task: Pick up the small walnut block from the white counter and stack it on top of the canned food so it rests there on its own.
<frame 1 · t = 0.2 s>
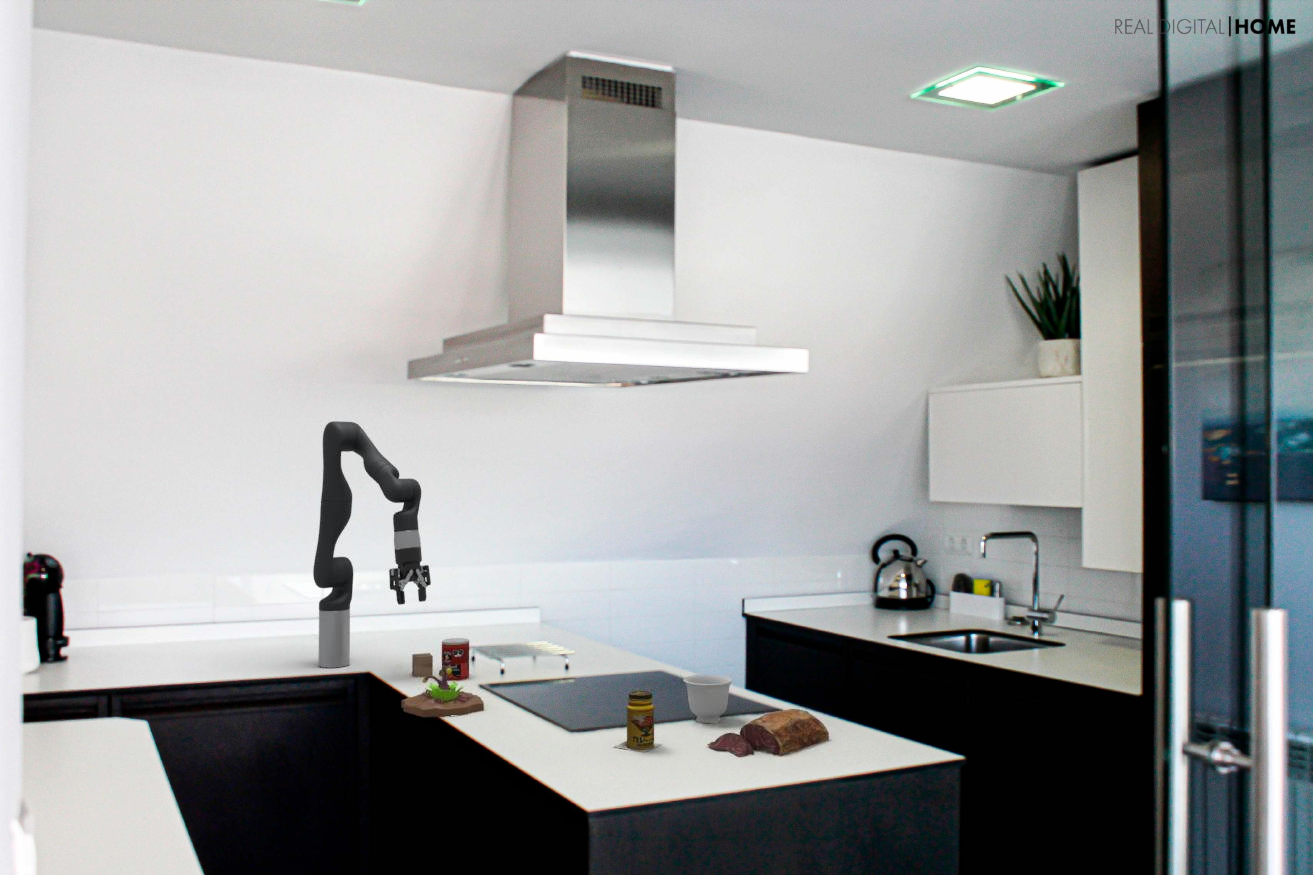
hand: (412, 602, 318), 22 cm above the worktop, tool pointing down, fingers open, 8 cm apart
teacup: (705, 719, 269), on the worktop
walnut block: (422, 675, 324), on the worktop
condiment: (637, 747, 244), on the worktop
plant: (444, 710, 281), on the worktop
cured meat: (765, 747, 245), on the worktop
canned food: (455, 678, 319), on the worktop
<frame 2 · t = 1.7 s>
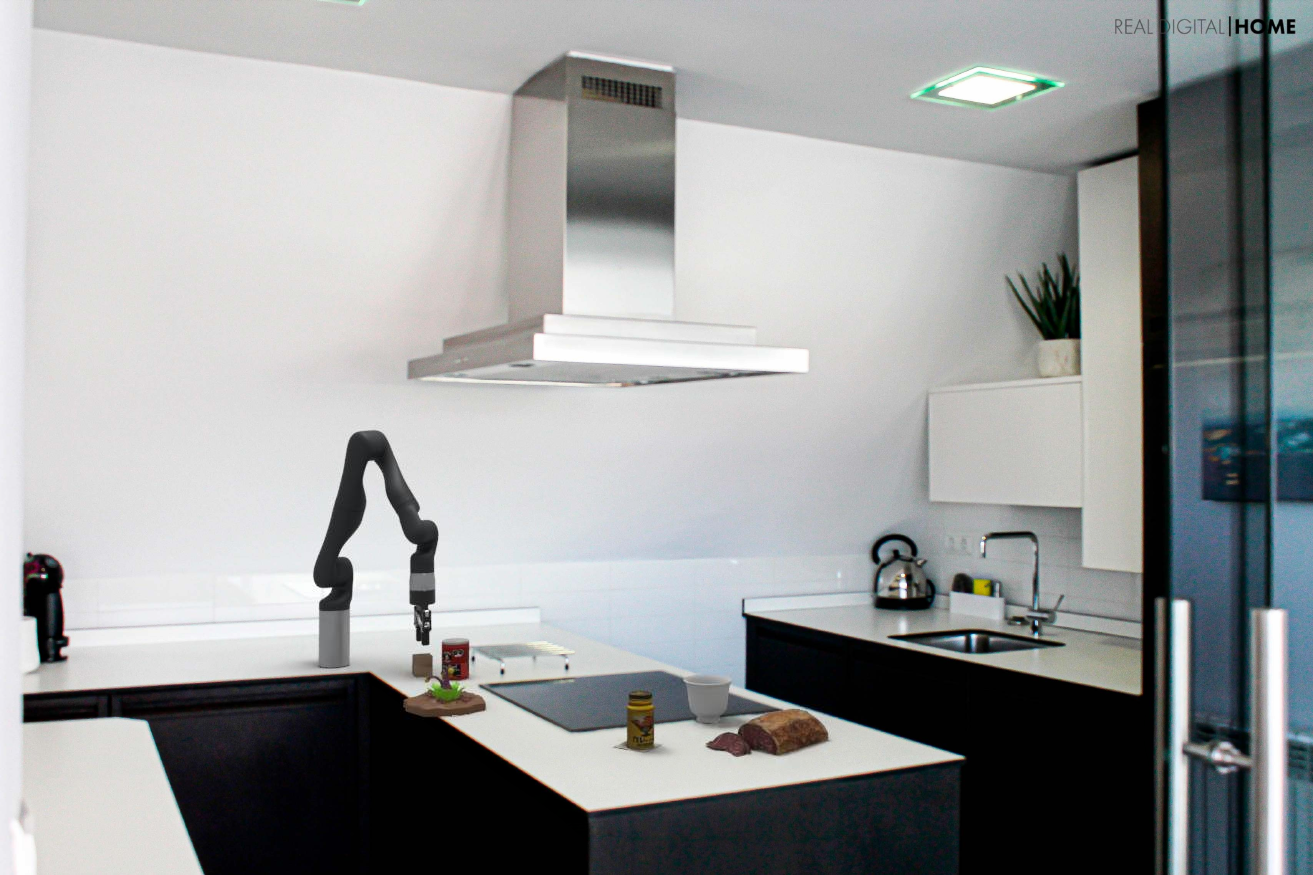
hand: (422, 643, 323), 9 cm above the worktop, tool pointing down, fingers open, 8 cm apart
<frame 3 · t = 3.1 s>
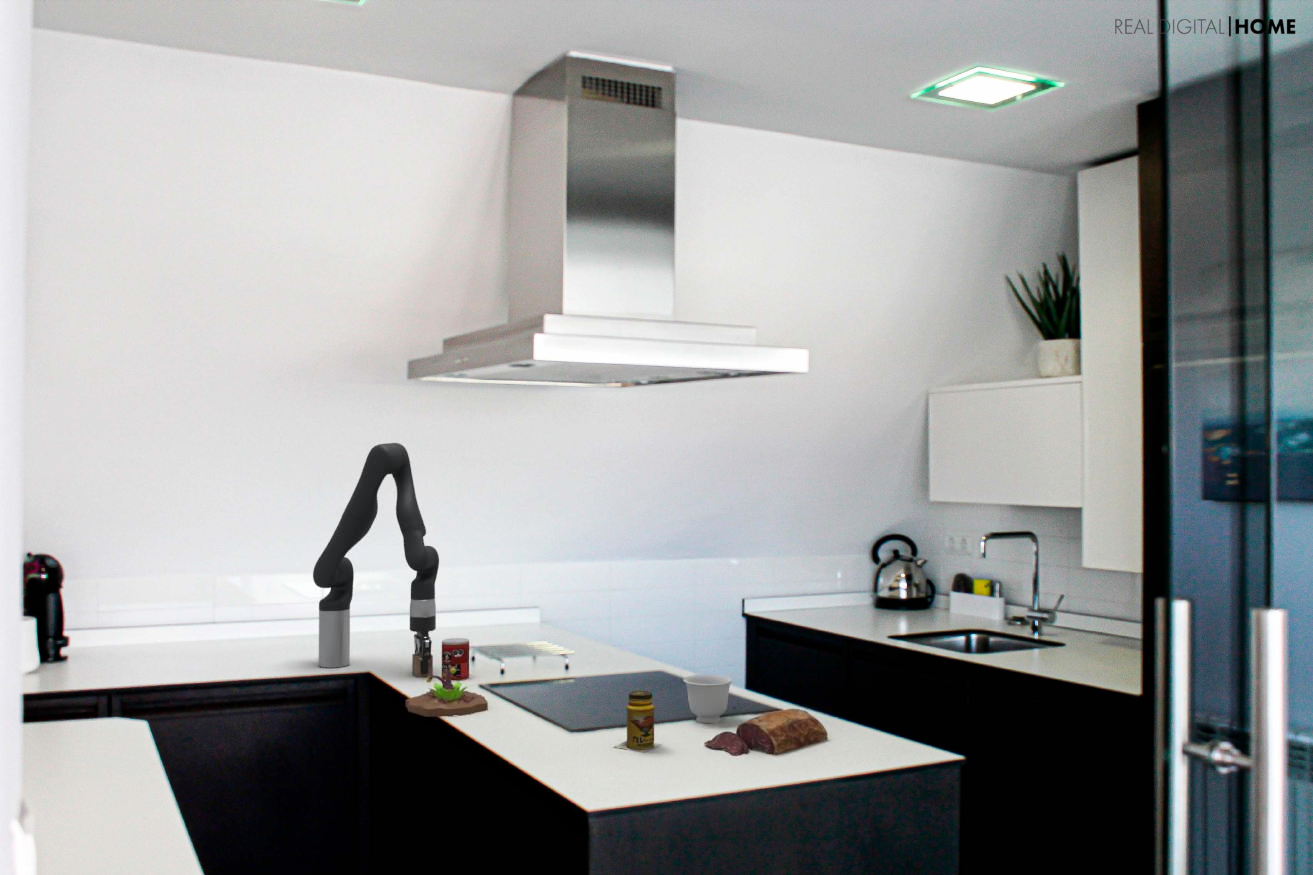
hand: (422, 671, 324), 1 cm above the worktop, tool pointing down, fingers closed on walnut block, 5 cm apart
walnut block: (422, 675, 324), on the worktop, touching gripper
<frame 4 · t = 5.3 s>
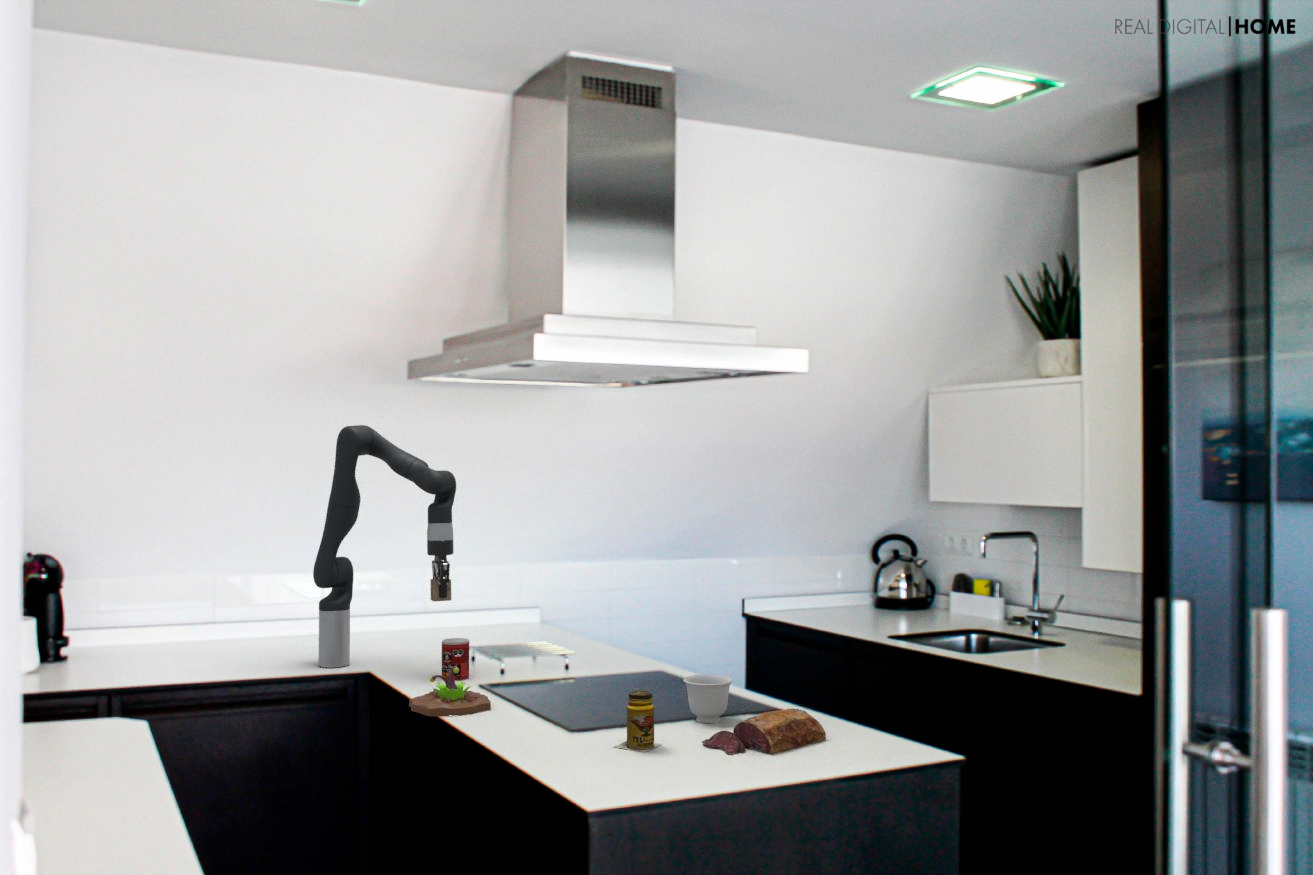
hand: (441, 596, 321), 23 cm above the worktop, tool pointing down, fingers closed on walnut block, 5 cm apart
walnut block: (441, 599, 321), point 22 cm above the worktop, touching gripper
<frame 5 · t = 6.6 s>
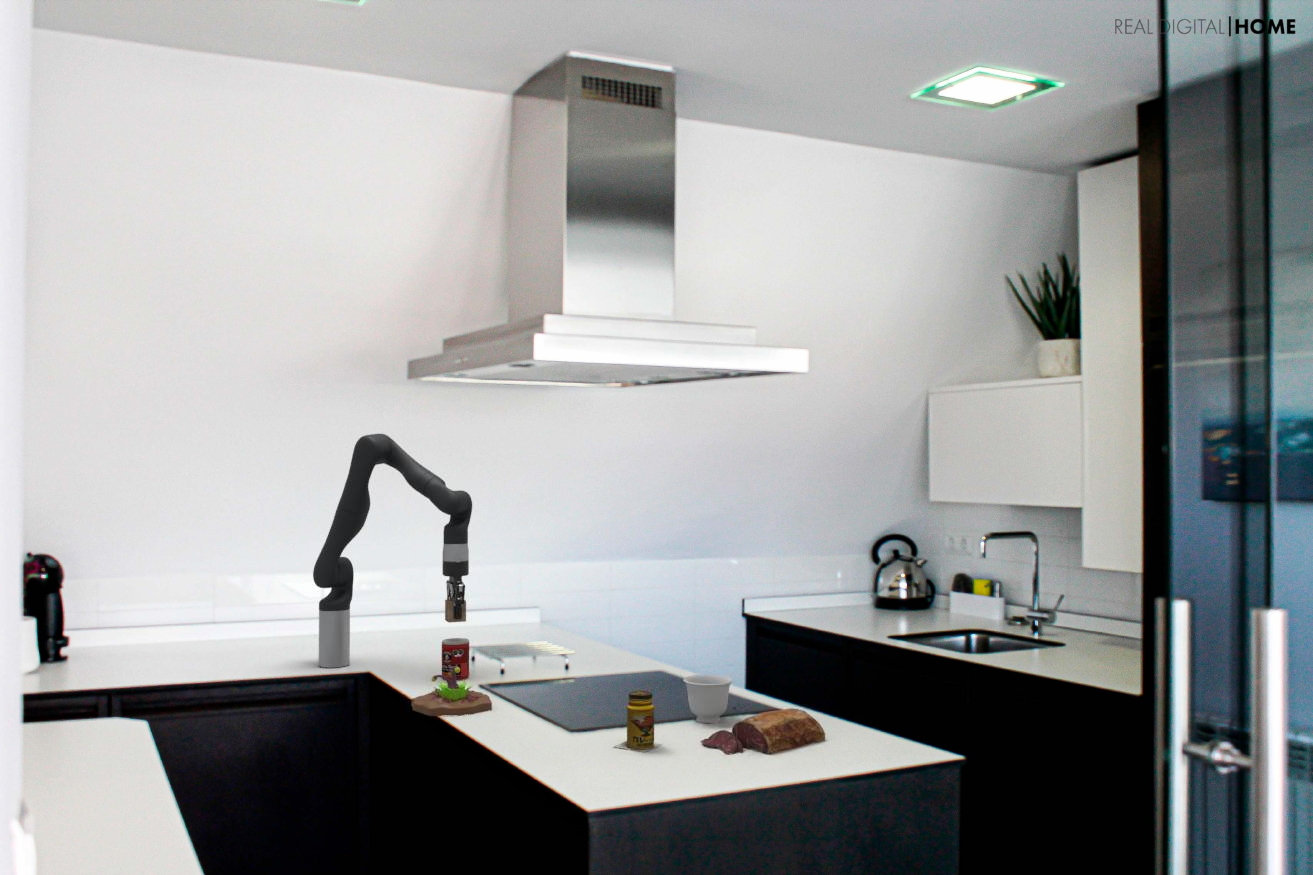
hand: (455, 617, 320), 18 cm above the worktop, tool pointing down, fingers closed on walnut block, 5 cm apart
walnut block: (455, 620, 320), point 17 cm above the worktop, touching gripper
when the fingers open (14 cm above the worktop, at t = 7.7 s): walnut block drops 2 cm, resting on canned food.
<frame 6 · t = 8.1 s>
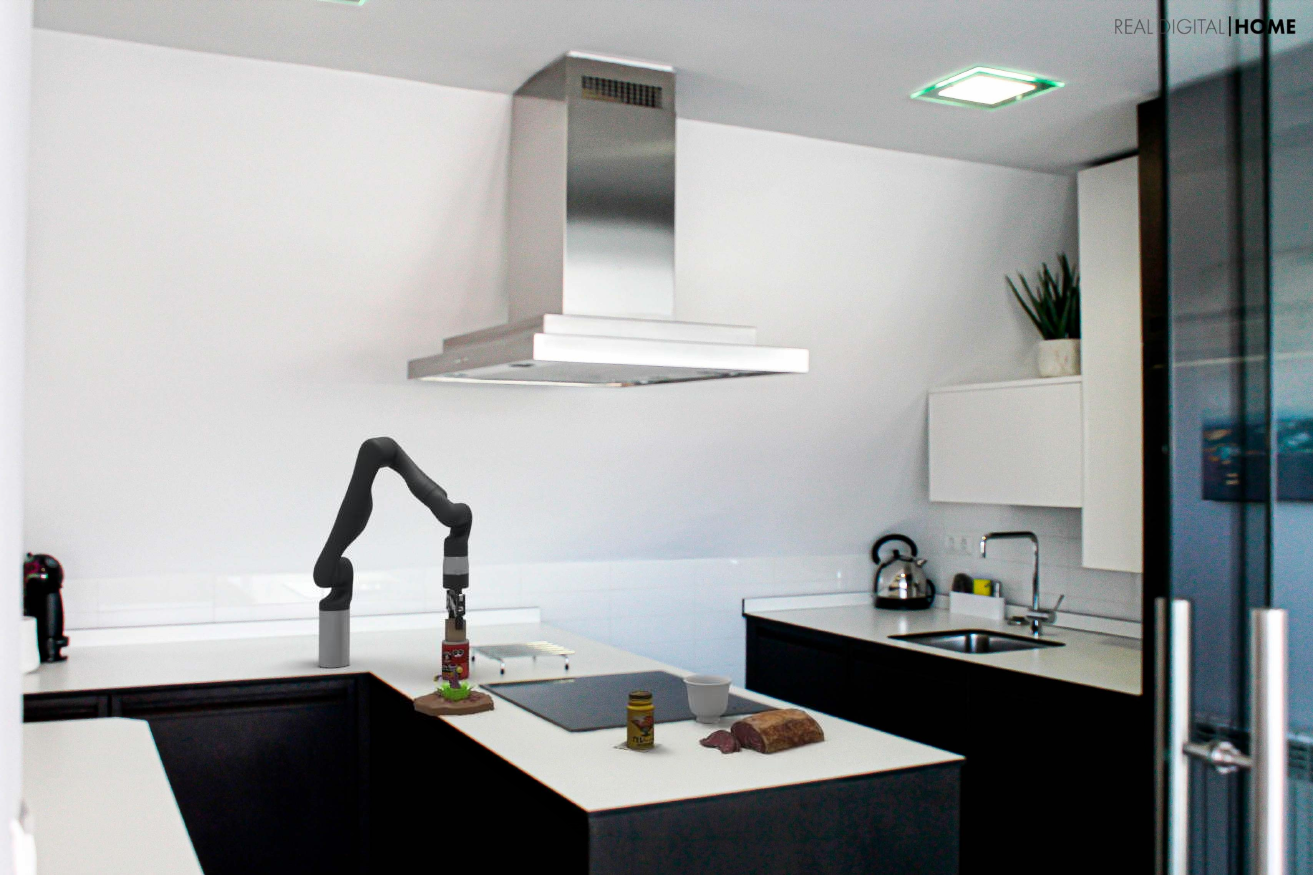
hand: (455, 627, 320), 15 cm above the worktop, tool pointing down, fingers open, 8 cm apart
walnut block: (455, 640, 320), point 11 cm above the worktop, touching canned food
canned food: (455, 678, 319), on the worktop, touching walnut block
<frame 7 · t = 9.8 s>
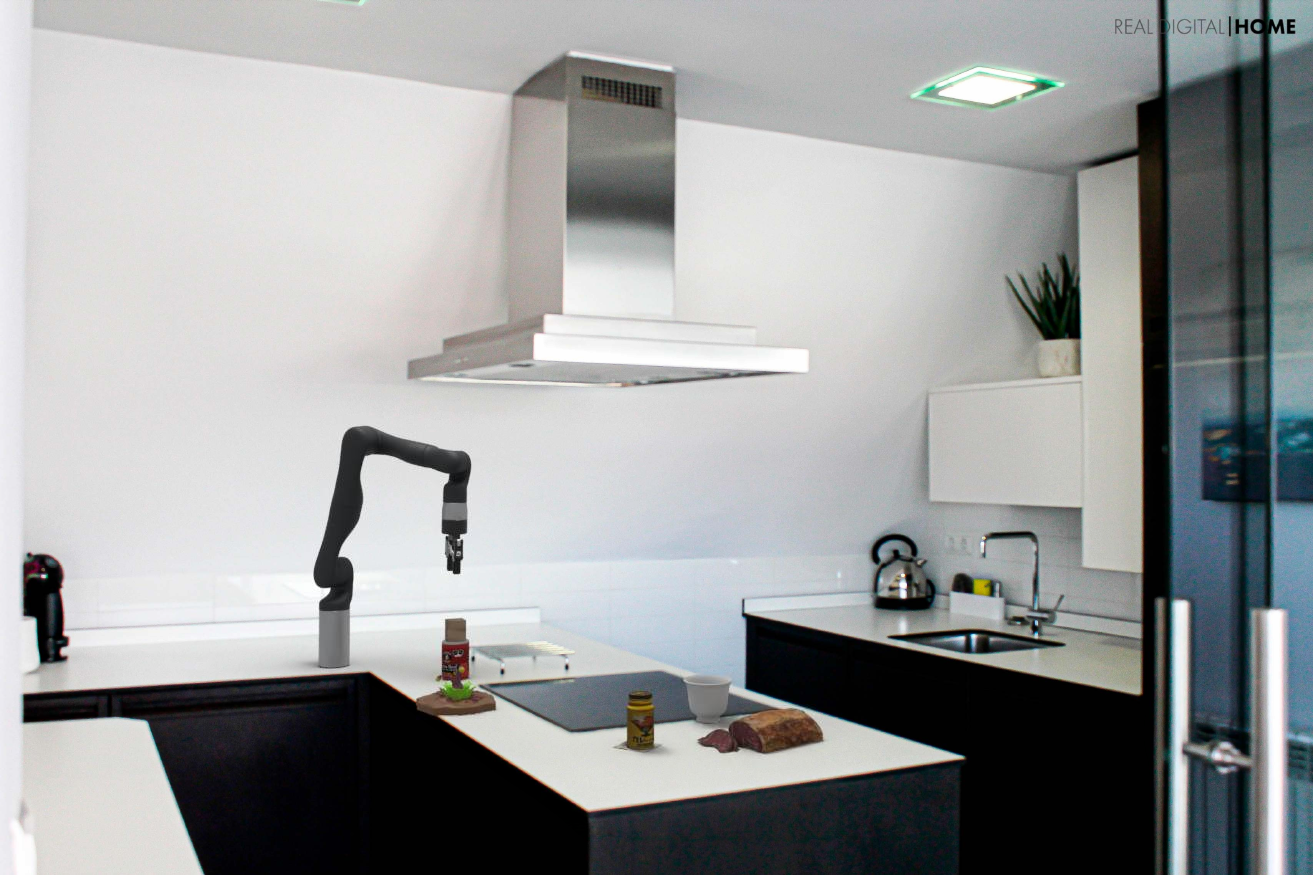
hand: (453, 572, 326), 30 cm above the worktop, tool pointing down, fingers open, 8 cm apart
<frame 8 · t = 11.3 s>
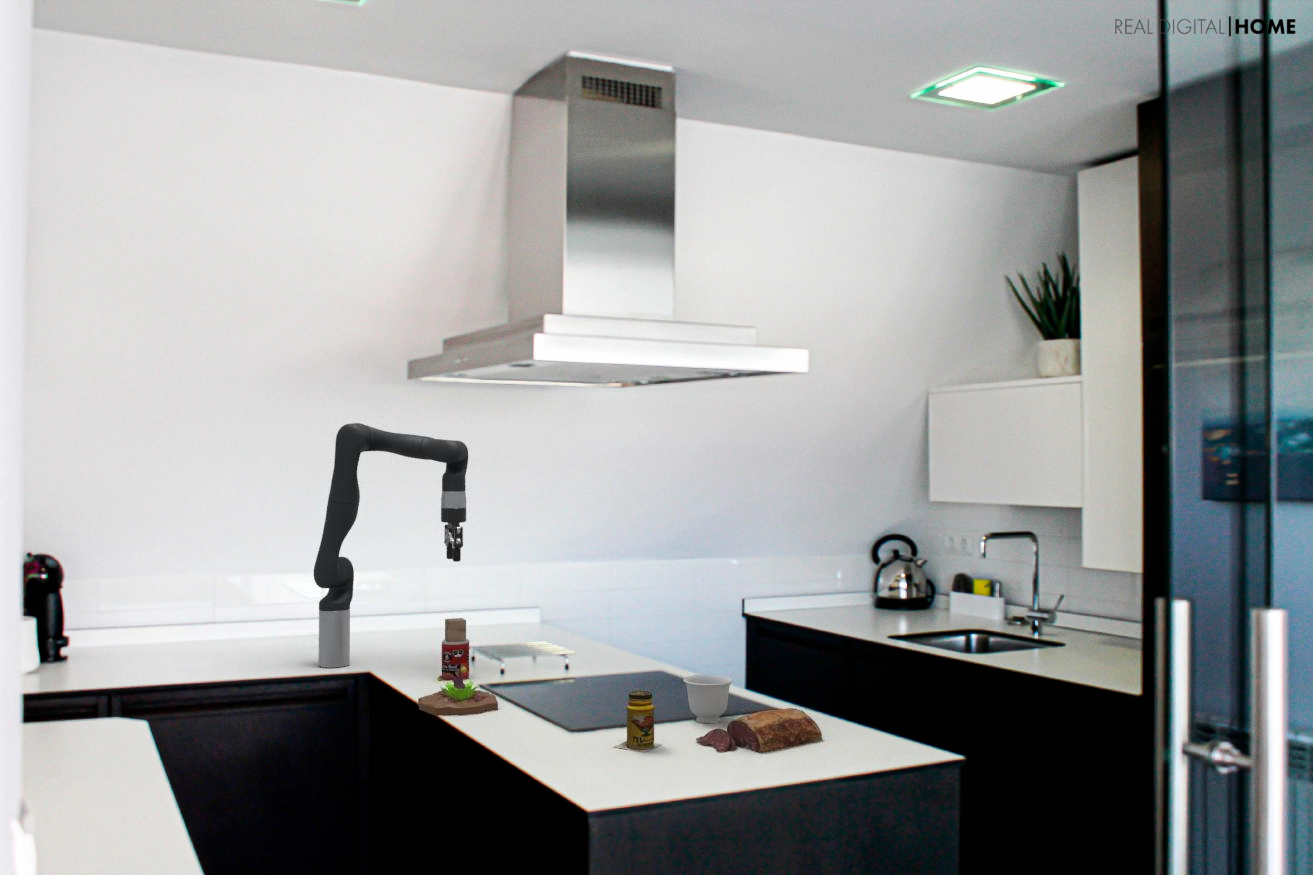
hand: (453, 560, 332), 33 cm above the worktop, tool pointing down, fingers open, 8 cm apart
at the end: walnut block inside the target area on the canned food (0.1 cm from its centre), point 11.2 cm above the canned food's base; the gripper is holding nothing; canned food tilted 0° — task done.
